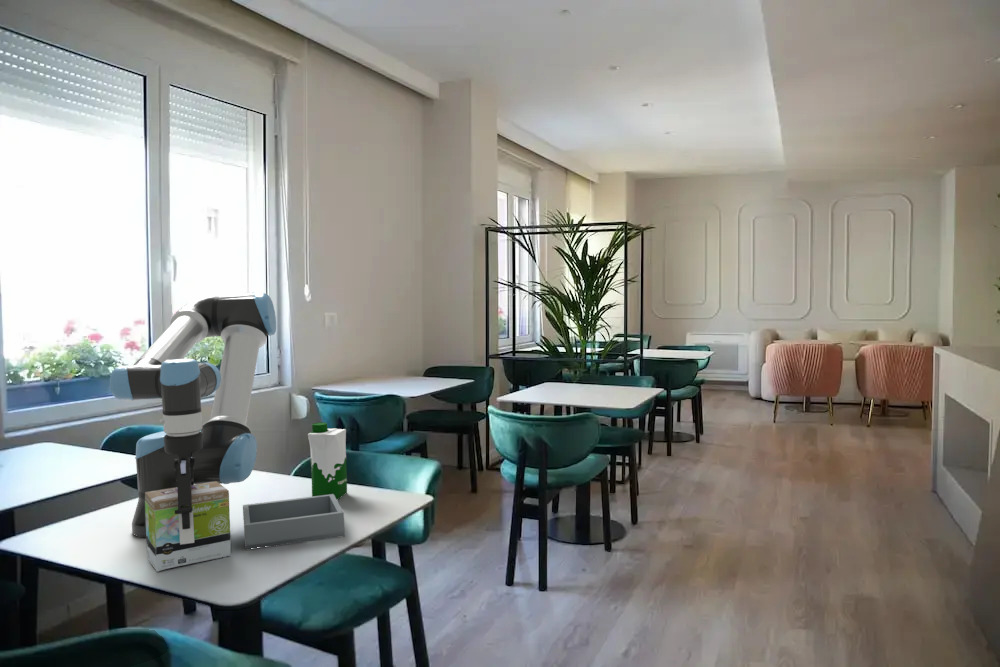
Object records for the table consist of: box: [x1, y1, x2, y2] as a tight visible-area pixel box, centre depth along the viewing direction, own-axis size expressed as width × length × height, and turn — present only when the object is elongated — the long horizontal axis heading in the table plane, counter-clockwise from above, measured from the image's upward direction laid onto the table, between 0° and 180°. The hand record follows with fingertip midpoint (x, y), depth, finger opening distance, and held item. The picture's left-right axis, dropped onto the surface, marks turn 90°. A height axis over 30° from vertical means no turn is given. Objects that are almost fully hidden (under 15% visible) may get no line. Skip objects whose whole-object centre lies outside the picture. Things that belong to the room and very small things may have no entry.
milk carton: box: [307, 421, 348, 500], centre depth 201 cm, size 9×9×20 cm
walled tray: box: [242, 494, 345, 550], centre depth 173 cm, size 16×21×6 cm
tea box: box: [145, 481, 232, 573], centre depth 157 cm, size 15×10×15 cm
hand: (188, 534), depth 157 cm, fingers closed on tea box, 11 cm apart
